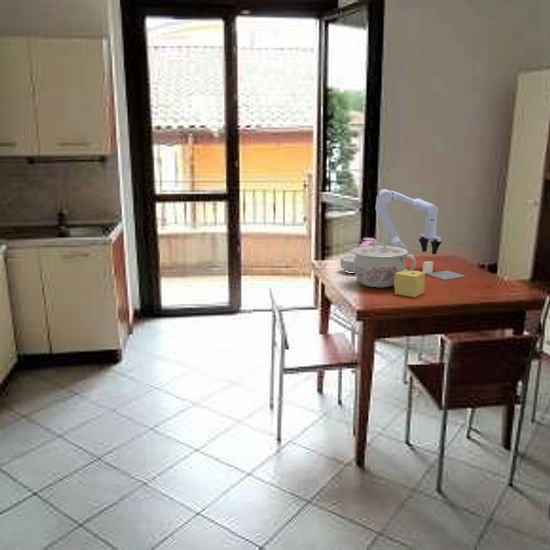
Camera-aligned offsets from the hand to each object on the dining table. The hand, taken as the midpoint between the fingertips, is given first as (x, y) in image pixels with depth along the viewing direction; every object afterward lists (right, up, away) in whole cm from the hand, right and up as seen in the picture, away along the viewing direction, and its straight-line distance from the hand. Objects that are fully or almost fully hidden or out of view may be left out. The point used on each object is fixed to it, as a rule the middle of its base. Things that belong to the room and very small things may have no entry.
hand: (429, 252), depth 291 cm
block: (-2, -11, -3) cm, 11 cm away
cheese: (-20, -20, -40) cm, 50 cm away
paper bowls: (-39, -10, +2) cm, 41 cm away
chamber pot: (-31, -17, -24) cm, 43 cm away
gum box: (-30, -6, +21) cm, 37 cm away
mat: (+6, -12, -9) cm, 16 cm away
